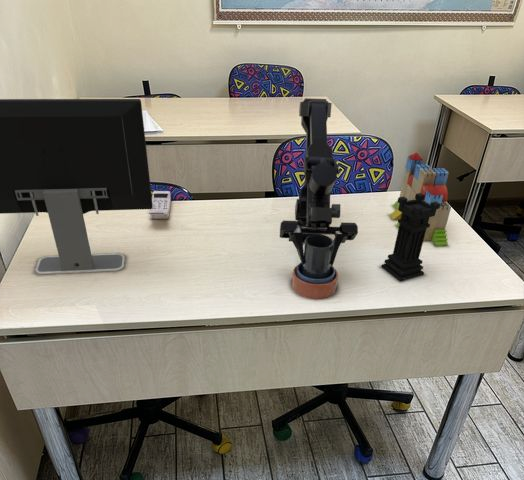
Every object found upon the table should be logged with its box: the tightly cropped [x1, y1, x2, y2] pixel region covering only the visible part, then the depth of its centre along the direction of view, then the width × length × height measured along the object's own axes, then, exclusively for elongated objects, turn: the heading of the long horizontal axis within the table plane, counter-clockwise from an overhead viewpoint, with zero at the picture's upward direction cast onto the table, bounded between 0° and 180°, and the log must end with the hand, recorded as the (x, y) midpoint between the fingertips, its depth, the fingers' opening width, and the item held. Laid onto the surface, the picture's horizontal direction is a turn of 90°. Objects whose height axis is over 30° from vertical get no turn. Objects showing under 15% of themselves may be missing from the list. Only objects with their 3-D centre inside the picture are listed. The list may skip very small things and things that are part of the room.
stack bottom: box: [291, 263, 339, 300], centre depth 129 cm, size 11×11×4 cm
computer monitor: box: [0, 98, 153, 275], centre depth 122 cm, size 41×8×40 cm, turn 98°
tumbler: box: [302, 234, 334, 279], centre depth 126 cm, size 7×7×12 cm
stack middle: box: [296, 262, 336, 284], centre depth 129 cm, size 10×10×5 cm
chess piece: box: [380, 193, 440, 282], centre depth 131 cm, size 8×8×20 cm
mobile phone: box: [146, 190, 172, 220], centre depth 158 cm, size 6×6×25 cm
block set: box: [389, 152, 452, 247], centre depth 153 cm, size 28×14×19 cm, turn 7°
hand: (317, 264), depth 125 cm, fingers closed on tumbler, 7 cm apart
